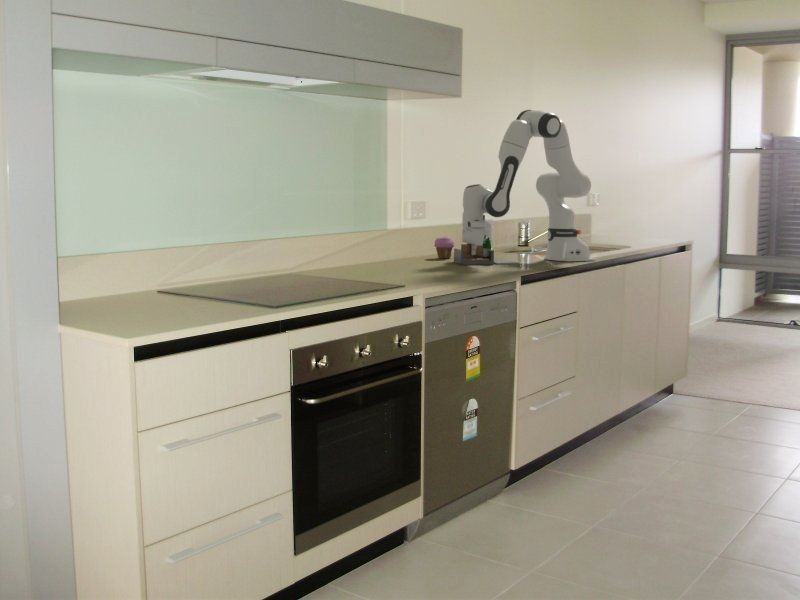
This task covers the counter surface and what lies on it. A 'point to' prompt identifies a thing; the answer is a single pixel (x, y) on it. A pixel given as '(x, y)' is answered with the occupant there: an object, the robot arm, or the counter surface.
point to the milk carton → (487, 233)
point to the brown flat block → (467, 252)
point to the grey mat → (505, 262)
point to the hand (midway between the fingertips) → (471, 254)
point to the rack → (486, 255)
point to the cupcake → (444, 247)
